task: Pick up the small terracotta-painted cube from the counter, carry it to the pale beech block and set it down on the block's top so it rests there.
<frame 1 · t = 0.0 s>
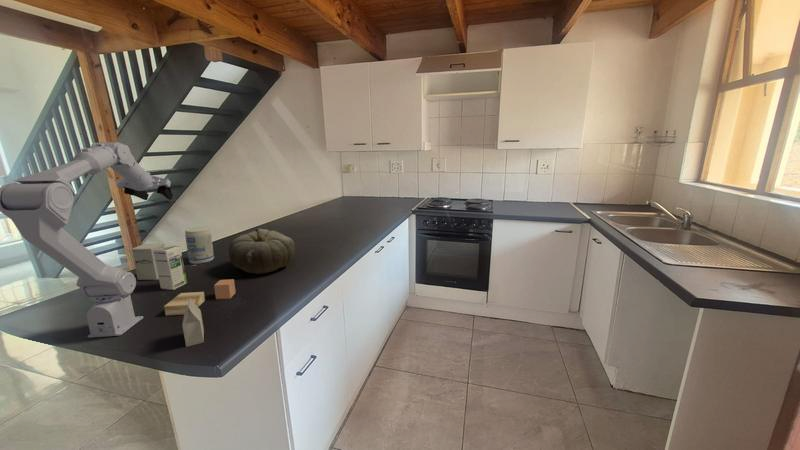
hand: (159, 197, 107), 32 cm above the counter, tool tilted 50°, fingers open, 7 cm apart
beech block: (186, 307, 98), on the counter
supplement tub: (202, 261, 141), on the counter
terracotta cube: (226, 296, 106), on the counter
gourd: (266, 268, 132), on the counter
supplement box: (154, 277, 123), on the counter
tea bag: (195, 338, 82), on the counter
syrup box: (174, 286, 114), on the counter
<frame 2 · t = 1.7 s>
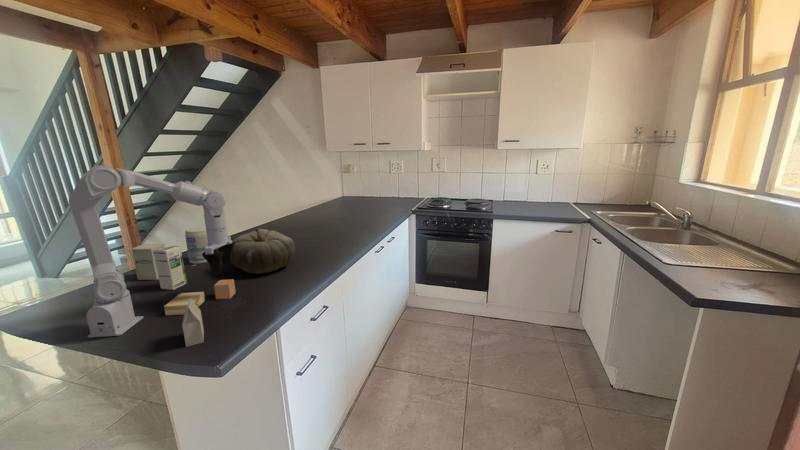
hand: (222, 268, 104), 10 cm above the counter, tool pointing down, fingers open, 7 cm apart
nothing on the counter moved.
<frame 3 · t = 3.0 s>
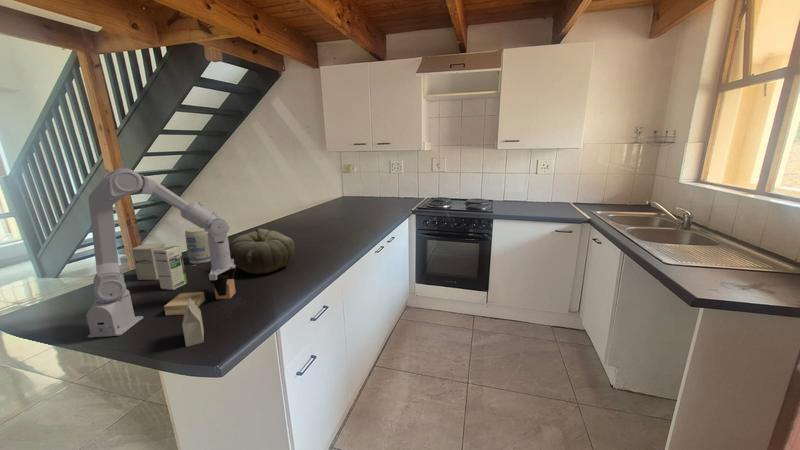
hand: (225, 291, 106), 1 cm above the counter, tool pointing down, fingers closed on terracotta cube, 4 cm apart
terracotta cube: (226, 295, 106), on the counter, touching gripper
everything else where it was.
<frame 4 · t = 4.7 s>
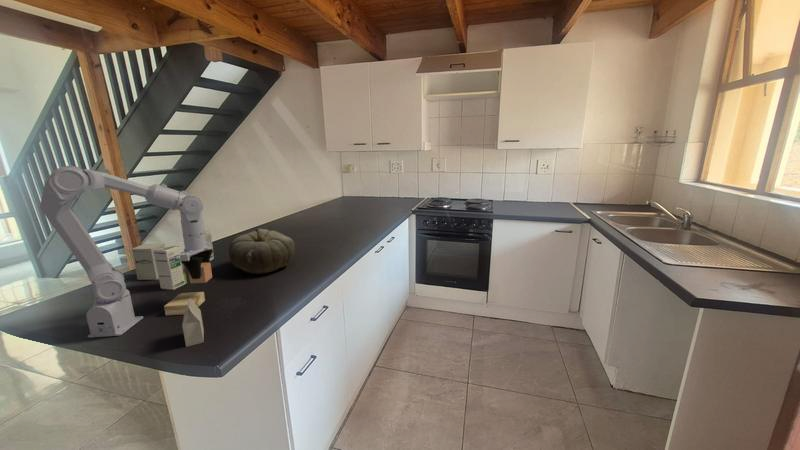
hand: (200, 275, 99), 9 cm above the counter, tool pointing down, fingers closed on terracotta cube, 4 cm apart
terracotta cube: (201, 280, 100), point 8 cm above the counter, touching gripper
everything else where it was.
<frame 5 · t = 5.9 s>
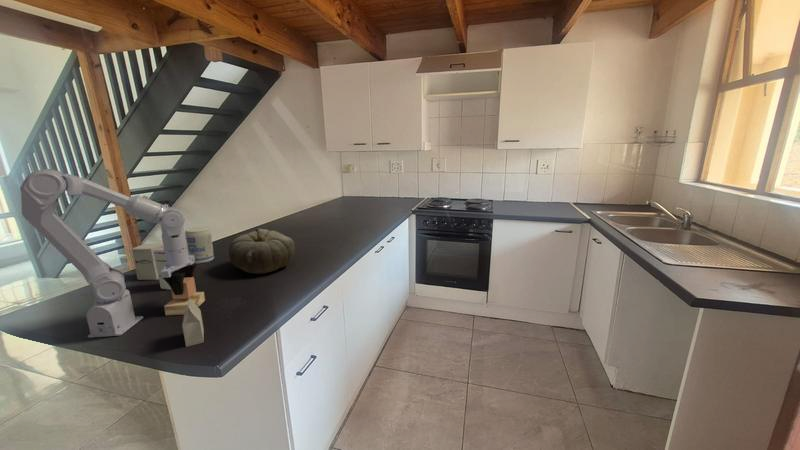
hand: (183, 290, 97), 6 cm above the counter, tool pointing down, fingers closed on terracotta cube, 4 cm apart
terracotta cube: (184, 295, 97), point 4 cm above the counter, touching gripper
everything else where it was.
when the fingers open (5 cm above the counter, at t = 6.4 s): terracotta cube stays where it is, resting on beech block.
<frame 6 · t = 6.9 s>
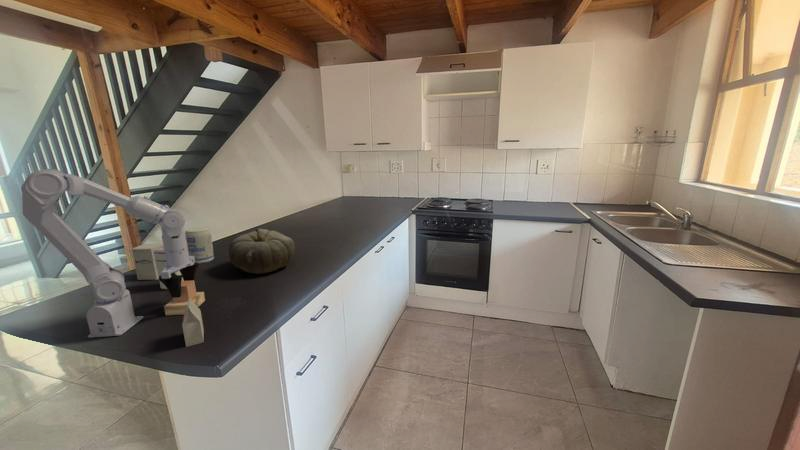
hand: (183, 291, 97), 5 cm above the counter, tool pointing down, fingers open, 7 cm apart
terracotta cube: (185, 298, 97), point 3 cm above the counter, touching beech block
everything else where it was.
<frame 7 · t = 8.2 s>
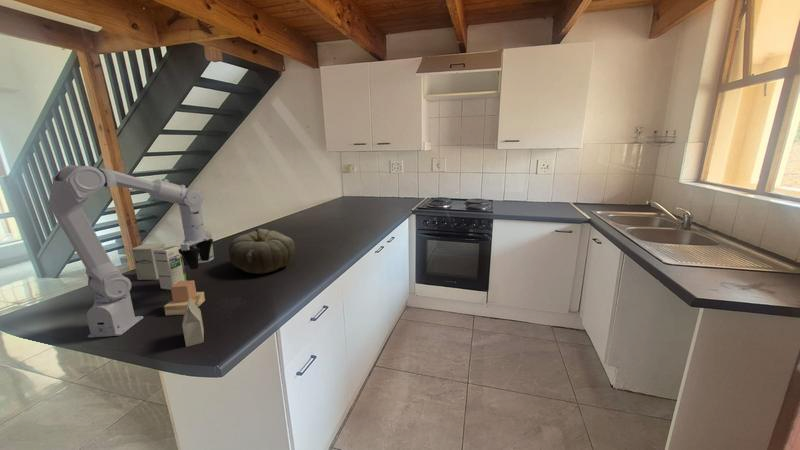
hand: (200, 264, 105), 11 cm above the counter, tool pointing down, fingers open, 7 cm apart
nothing on the counter moved.
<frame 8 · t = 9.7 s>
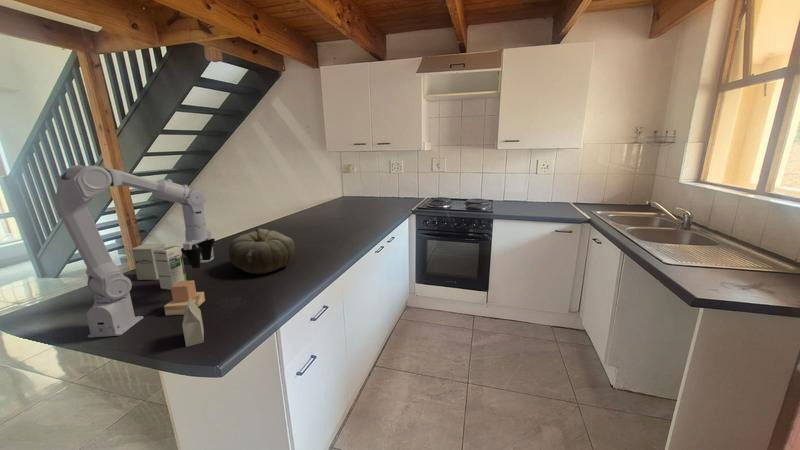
hand: (201, 263, 106), 10 cm above the counter, tool pointing down, fingers open, 7 cm apart
nothing on the counter moved.
at the end: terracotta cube inside the target area on the beech block (0.1 cm from its centre), point 3.0 cm above the beech block's base; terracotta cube tilted 0°; the gripper is holding nothing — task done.
